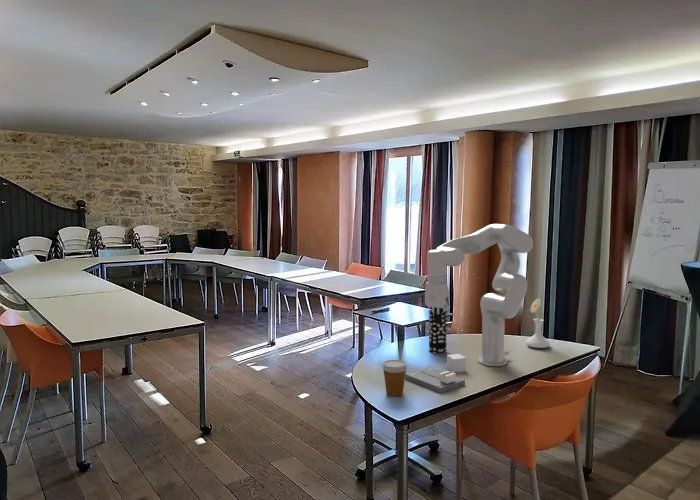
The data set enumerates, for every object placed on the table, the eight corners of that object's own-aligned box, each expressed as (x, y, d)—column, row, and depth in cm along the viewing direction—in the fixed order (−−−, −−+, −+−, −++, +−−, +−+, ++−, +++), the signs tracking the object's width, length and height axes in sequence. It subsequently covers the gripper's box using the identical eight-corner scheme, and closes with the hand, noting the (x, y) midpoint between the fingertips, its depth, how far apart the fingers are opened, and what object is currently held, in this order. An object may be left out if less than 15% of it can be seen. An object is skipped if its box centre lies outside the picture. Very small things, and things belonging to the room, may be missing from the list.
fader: (447, 377, 203) (447, 369, 203) (455, 380, 200) (455, 372, 199) (439, 380, 200) (439, 372, 200) (446, 383, 197) (447, 375, 196)
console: (428, 371, 218) (428, 366, 218) (464, 384, 202) (464, 379, 202) (404, 378, 209) (404, 373, 209) (440, 393, 194) (440, 387, 193)
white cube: (465, 371, 218) (466, 357, 217) (453, 372, 216) (453, 359, 215) (458, 366, 223) (459, 353, 223) (446, 368, 222) (446, 354, 221)
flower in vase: (525, 342, 258) (527, 294, 256) (549, 344, 254) (551, 295, 252) (525, 349, 246) (526, 299, 243) (550, 352, 242) (552, 301, 239)
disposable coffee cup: (380, 389, 198) (380, 359, 197) (404, 388, 199) (404, 358, 198) (384, 399, 189) (384, 368, 187) (409, 397, 190) (409, 367, 188)
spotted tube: (448, 350, 247) (449, 310, 245) (442, 354, 240) (442, 313, 238) (433, 347, 251) (433, 308, 249) (426, 352, 244) (426, 311, 242)
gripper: (417, 278, 212) (418, 321, 214) (445, 283, 200) (446, 328, 203) (429, 276, 216) (430, 317, 219) (457, 280, 205) (457, 324, 207)
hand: (438, 322), depth 211 cm, fingers closed
